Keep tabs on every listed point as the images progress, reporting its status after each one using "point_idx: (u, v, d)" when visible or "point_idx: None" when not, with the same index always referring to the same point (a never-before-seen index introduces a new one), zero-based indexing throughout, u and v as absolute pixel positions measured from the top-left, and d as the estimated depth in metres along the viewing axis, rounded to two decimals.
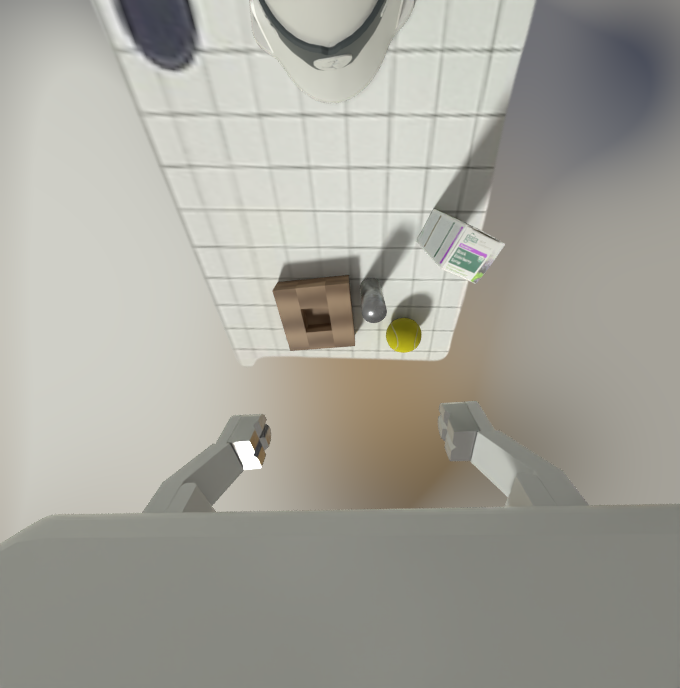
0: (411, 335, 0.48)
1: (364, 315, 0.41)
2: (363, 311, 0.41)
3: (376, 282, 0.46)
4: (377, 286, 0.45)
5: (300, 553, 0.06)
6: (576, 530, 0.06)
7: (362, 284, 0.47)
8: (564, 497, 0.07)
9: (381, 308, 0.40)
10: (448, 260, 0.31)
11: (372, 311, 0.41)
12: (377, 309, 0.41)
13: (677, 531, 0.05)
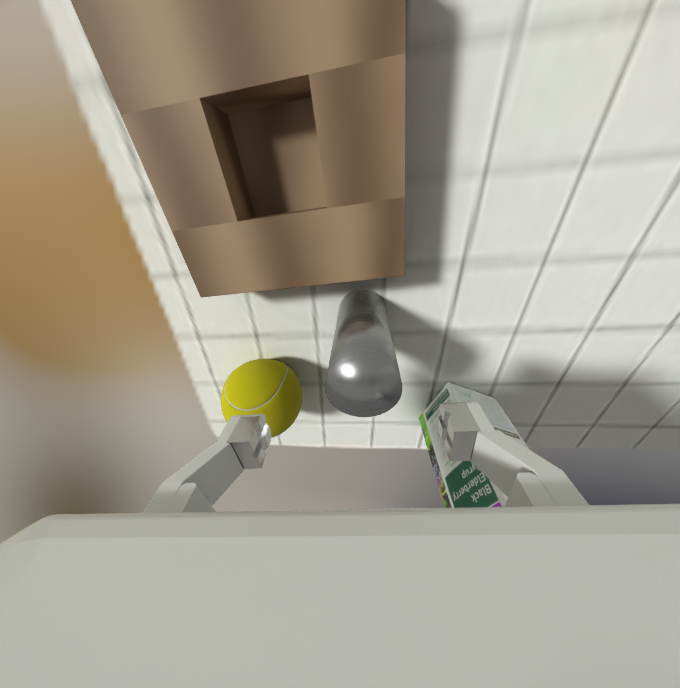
0: (275, 429, 0.21)
1: (352, 365, 0.12)
2: (367, 362, 0.12)
3: None
4: None
5: (300, 553, 0.06)
6: (576, 530, 0.06)
7: (376, 298, 0.20)
8: (564, 497, 0.07)
9: (375, 406, 0.14)
10: None
11: (367, 385, 0.13)
12: (371, 397, 0.13)
13: (677, 531, 0.05)
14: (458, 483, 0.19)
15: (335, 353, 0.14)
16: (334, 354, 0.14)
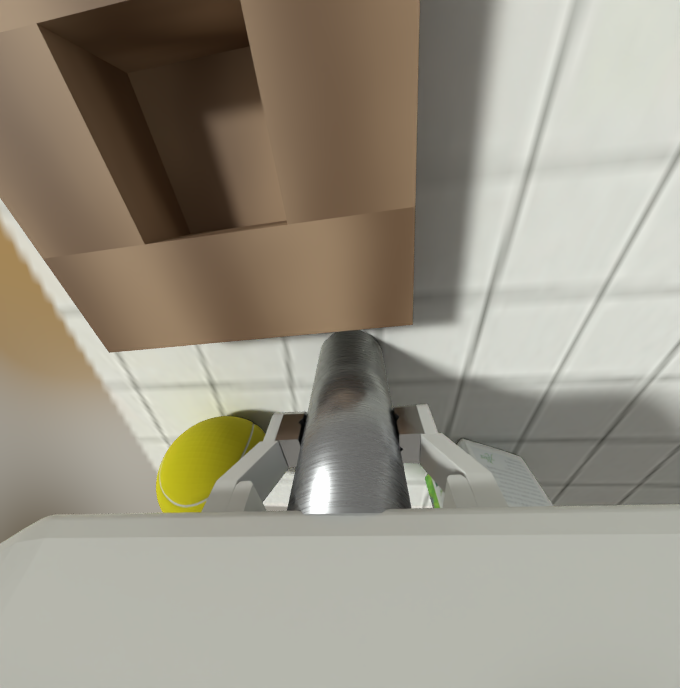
0: None
1: None
2: (354, 510, 0.07)
3: None
4: None
5: (300, 553, 0.06)
6: (576, 530, 0.06)
7: (370, 344, 0.14)
8: (487, 499, 0.07)
9: None
10: None
11: None
12: None
13: (677, 531, 0.05)
14: None
15: (302, 467, 0.08)
16: (300, 468, 0.08)
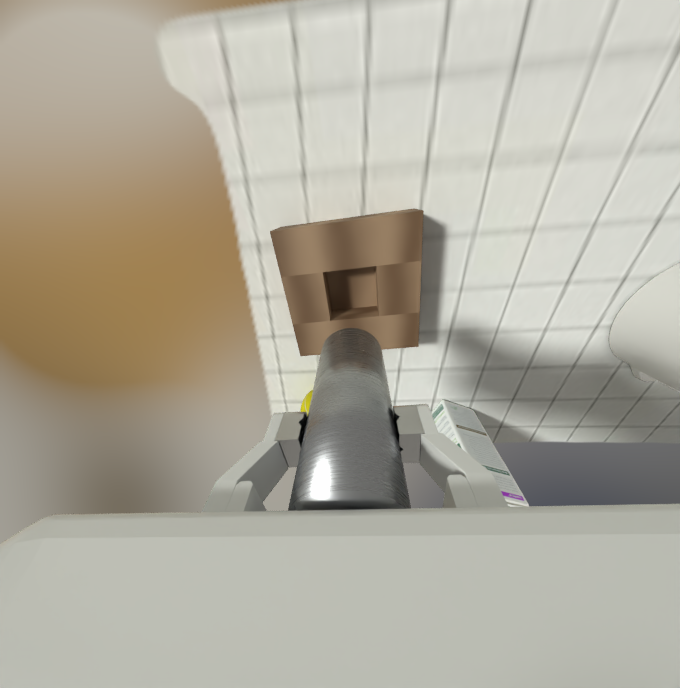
0: None
1: (329, 498, 0.07)
2: (354, 494, 0.07)
3: None
4: None
5: (300, 553, 0.06)
6: (576, 530, 0.06)
7: (370, 341, 0.15)
8: (487, 499, 0.07)
9: None
10: None
11: None
12: None
13: (677, 531, 0.05)
14: None
15: (305, 456, 0.09)
16: (303, 457, 0.09)
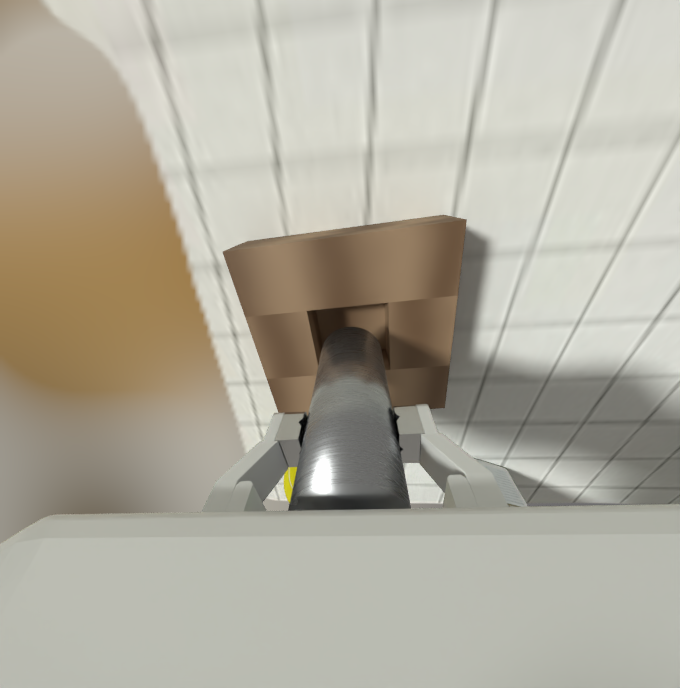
0: None
1: (329, 491, 0.07)
2: (354, 487, 0.07)
3: None
4: None
5: (300, 553, 0.06)
6: (576, 530, 0.06)
7: (369, 340, 0.15)
8: (487, 499, 0.07)
9: None
10: None
11: None
12: None
13: (677, 531, 0.05)
14: None
15: (306, 451, 0.09)
16: (304, 453, 0.09)
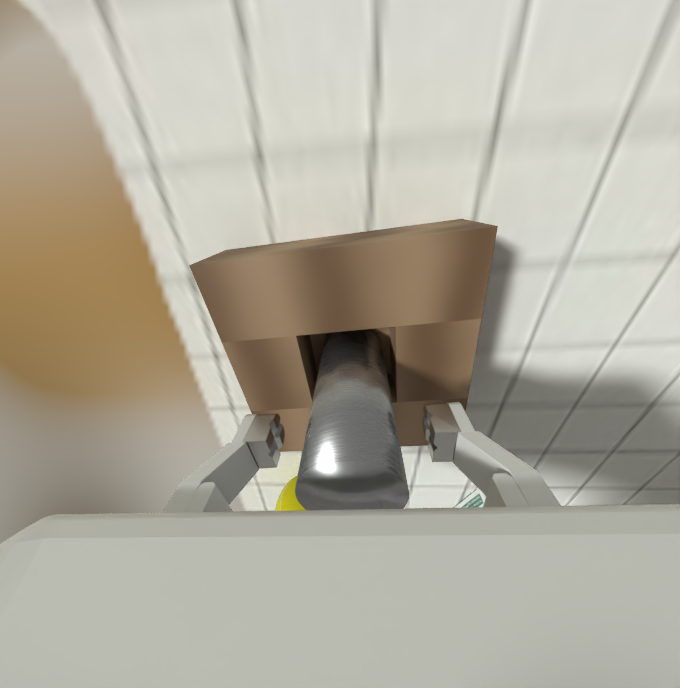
0: None
1: (333, 469, 0.08)
2: (356, 465, 0.08)
3: None
4: None
5: (300, 553, 0.06)
6: (576, 530, 0.06)
7: (370, 334, 0.15)
8: (537, 498, 0.07)
9: None
10: None
11: (357, 491, 0.09)
12: (364, 504, 0.09)
13: (677, 531, 0.05)
14: None
15: (311, 435, 0.10)
16: (309, 436, 0.10)
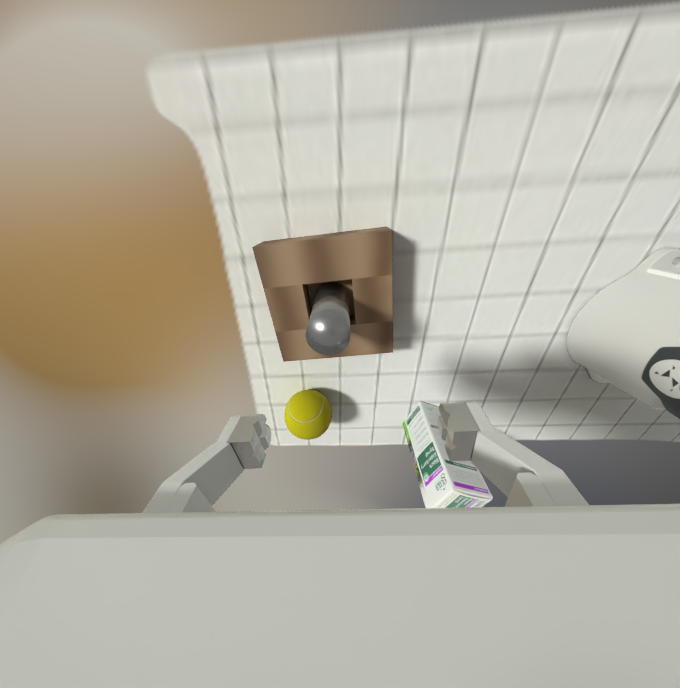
0: (319, 433, 0.35)
1: (320, 320, 0.21)
2: (329, 317, 0.21)
3: None
4: None
5: (300, 553, 0.06)
6: (576, 530, 0.06)
7: (341, 287, 0.29)
8: (564, 497, 0.07)
9: (336, 347, 0.23)
10: (461, 495, 0.28)
11: (330, 333, 0.22)
12: (333, 341, 0.22)
13: (677, 531, 0.05)
14: (423, 460, 0.34)
15: (311, 316, 0.23)
16: (311, 317, 0.23)
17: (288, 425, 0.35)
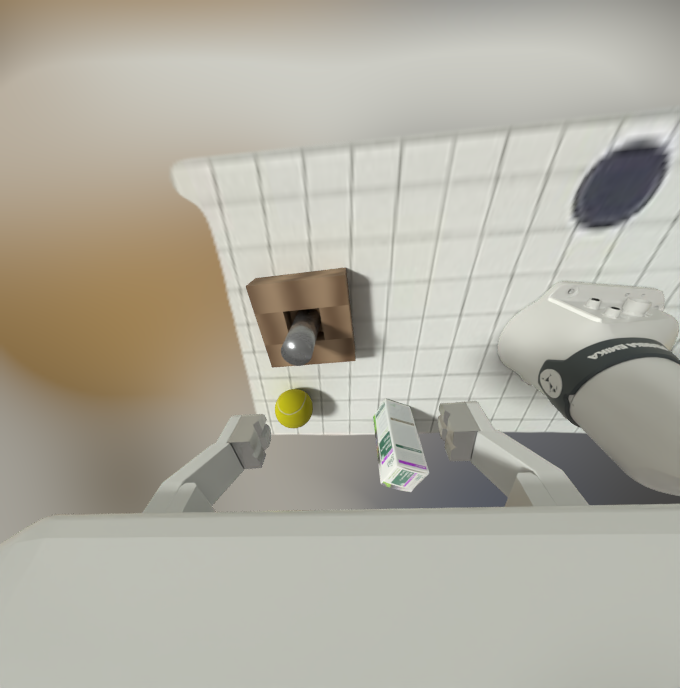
0: (301, 423, 0.45)
1: (290, 342, 0.31)
2: (296, 340, 0.31)
3: None
4: None
5: (300, 553, 0.06)
6: (576, 530, 0.06)
7: (313, 312, 0.38)
8: (564, 497, 0.07)
9: (302, 360, 0.32)
10: (403, 469, 0.37)
11: (297, 350, 0.31)
12: (300, 356, 0.32)
13: (677, 531, 0.05)
14: (382, 445, 0.43)
15: None
16: None
17: (277, 416, 0.45)
